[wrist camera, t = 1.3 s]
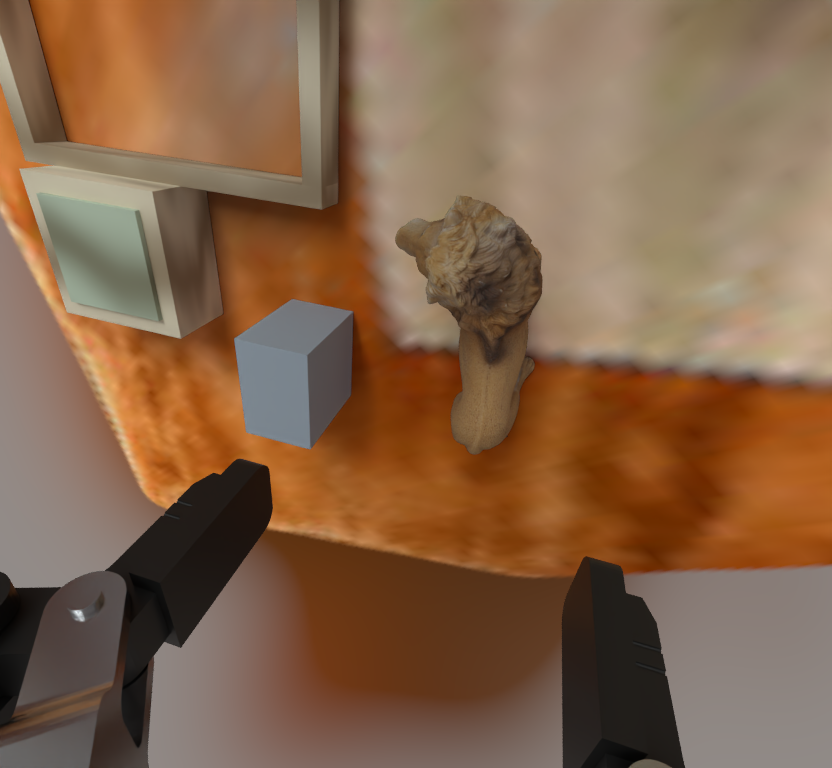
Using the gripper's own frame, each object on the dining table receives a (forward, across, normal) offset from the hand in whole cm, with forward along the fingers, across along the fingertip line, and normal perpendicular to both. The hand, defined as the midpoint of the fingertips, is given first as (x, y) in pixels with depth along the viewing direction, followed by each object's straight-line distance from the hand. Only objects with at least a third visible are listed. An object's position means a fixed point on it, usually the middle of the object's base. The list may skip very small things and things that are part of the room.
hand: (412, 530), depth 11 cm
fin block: (+16, +10, +5) cm, 20 cm away
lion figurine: (+16, 0, 0) cm, 16 cm away
